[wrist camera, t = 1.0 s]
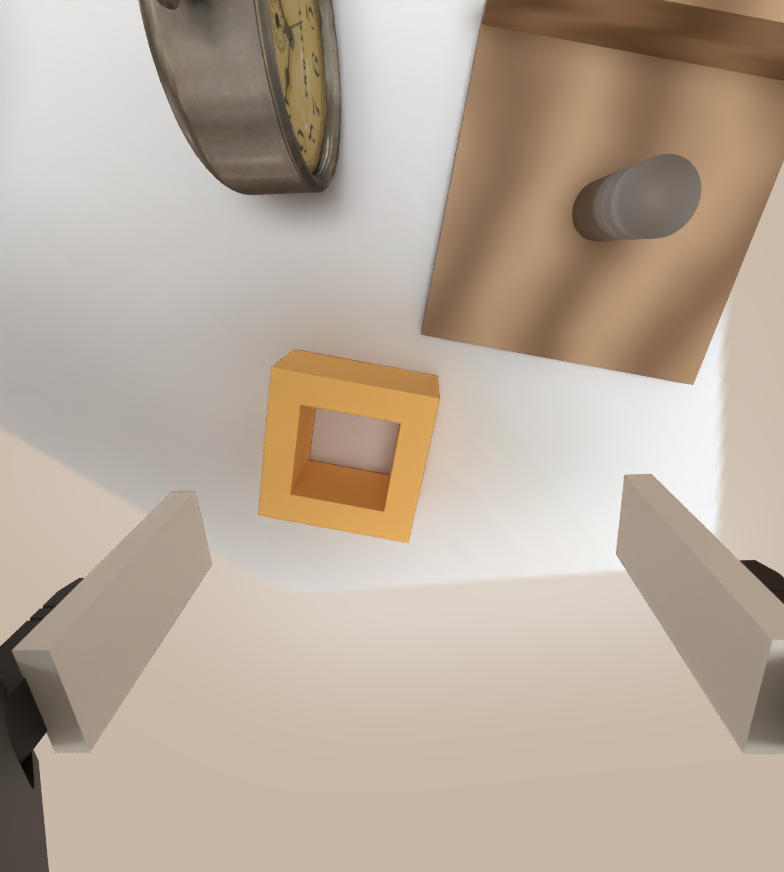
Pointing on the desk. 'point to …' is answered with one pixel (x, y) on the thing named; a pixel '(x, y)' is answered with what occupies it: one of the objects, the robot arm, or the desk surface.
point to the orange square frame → (336, 485)
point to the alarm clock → (252, 88)
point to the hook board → (601, 128)
